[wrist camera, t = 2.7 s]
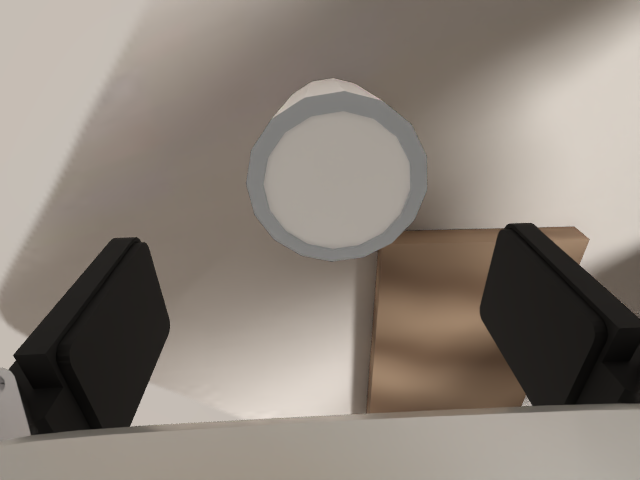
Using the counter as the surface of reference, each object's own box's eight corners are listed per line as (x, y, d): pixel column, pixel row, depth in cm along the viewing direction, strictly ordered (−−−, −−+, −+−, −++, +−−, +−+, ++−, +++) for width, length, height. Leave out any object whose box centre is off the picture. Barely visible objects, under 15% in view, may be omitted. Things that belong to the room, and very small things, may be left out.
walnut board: (379, 231, 23) (383, 244, 22) (574, 226, 23) (589, 239, 22) (366, 412, 33) (368, 429, 32) (505, 409, 33) (513, 425, 32)
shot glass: (385, 195, 22) (412, 265, 16) (267, 191, 22) (250, 261, 16) (404, 67, 19) (447, 96, 13) (263, 60, 18) (239, 87, 12)
